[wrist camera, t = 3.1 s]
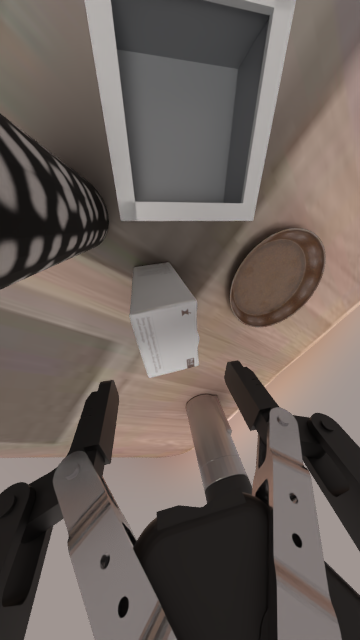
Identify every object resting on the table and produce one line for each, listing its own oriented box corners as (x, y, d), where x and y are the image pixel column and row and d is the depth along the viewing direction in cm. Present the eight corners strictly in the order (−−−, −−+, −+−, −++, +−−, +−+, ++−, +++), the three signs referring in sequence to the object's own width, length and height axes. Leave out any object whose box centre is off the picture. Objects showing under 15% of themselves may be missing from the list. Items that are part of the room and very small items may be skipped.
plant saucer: (283, 321, 37) (294, 329, 34) (213, 319, 33) (219, 327, 30) (328, 236, 28) (347, 237, 26) (241, 218, 24) (253, 218, 22)
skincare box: (132, 266, 24) (121, 309, 12) (171, 260, 25) (199, 296, 13) (144, 313, 29) (145, 381, 16) (177, 308, 30) (201, 369, 17)
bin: (249, 54, 16) (302, -32, 11) (228, 221, 24) (253, 220, 18) (97, 27, 14) (68, -100, 9) (126, 222, 22) (121, 220, 16)
